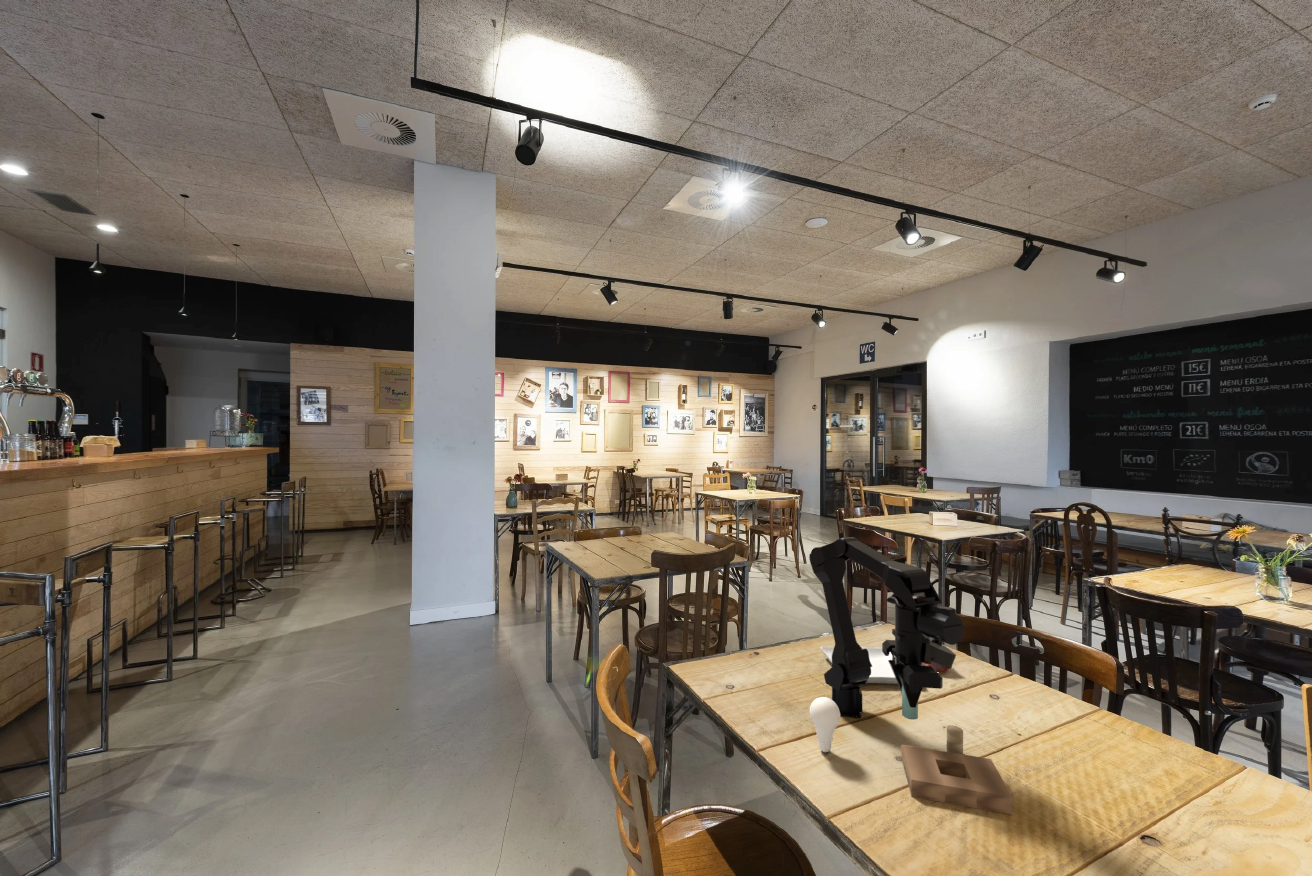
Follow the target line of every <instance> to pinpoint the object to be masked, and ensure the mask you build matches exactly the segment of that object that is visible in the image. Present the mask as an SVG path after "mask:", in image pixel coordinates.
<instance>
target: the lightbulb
mask: <svg viewBox="0 0 1312 876" xmlns="http://www.w3.org/2000/svg"><path fill="white" fill-rule="evenodd" d="M809 716H810V719H811V721H812V724H813V725H814V728H815V731H816V739H817V747H818V749H819V750H820V751H821V752H823V753H827V752H830V751H831V749H832V741H833V738H834V737H833V736H834V732H835V731H836V730H835V729H836V728H837V726H838V725H839V723H840V720H841V715H840V711H839V708H838V706H837V705H836V703H835V702H834V701H832V698H829V697H826V696H821V697H820V696H819V697H817V698H815V699H814V700H813V701H812V702H811V703H810V706H809Z"/></svg>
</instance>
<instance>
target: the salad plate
mask: <svg viewBox="0 0 1312 876" xmlns="http://www.w3.org/2000/svg"><path fill="white" fill-rule="evenodd" d="M834 647H835V646H820V651H821V652H822V653H823V655H825V657H826V659H828V661H829V662H830V663H831V664H832V653H833V650H834ZM860 647H861V646H860ZM861 648H862V649H867V650H868V652H869V659H870V662H871V664H872V667H871V675H870V676H869V678H868V680H867V683H866V684H868V683H887V684H886V685H898V682H897V680H896V678H895V675H894V673H893V671H892V668H891V666H890V664H889V662H888V660H892V654H891V652H889V656H885V654H884V653H883V652H882V647H864V646H862V647H861Z"/></svg>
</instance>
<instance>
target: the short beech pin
mask: <svg viewBox="0 0 1312 876" xmlns="http://www.w3.org/2000/svg"><path fill="white" fill-rule="evenodd" d="M946 752H951V753H957V754H963V755H964V729H962V728H961V727H960V726H957V725H953V724H952V725H951V724H949V725H947V726H946Z"/></svg>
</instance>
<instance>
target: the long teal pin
mask: <svg viewBox="0 0 1312 876" xmlns="http://www.w3.org/2000/svg"><path fill="white" fill-rule="evenodd" d="M901 716H902V717H904V718H905V719H908V720H918V719H919V702H918V703H917V705H916V707H915V708H912V707H910V706H909V703H908V700H907V697H906V694H905V692H904V689H903V686H902V692H901Z"/></svg>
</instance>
